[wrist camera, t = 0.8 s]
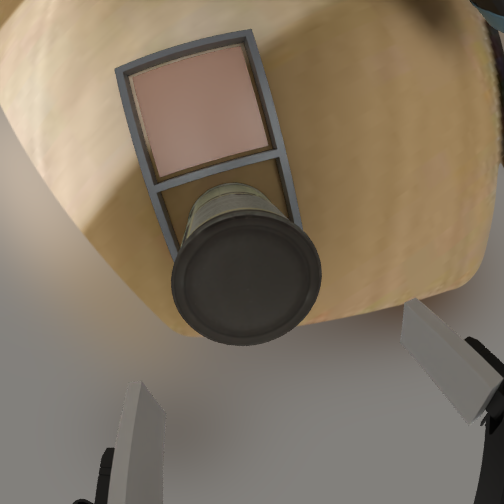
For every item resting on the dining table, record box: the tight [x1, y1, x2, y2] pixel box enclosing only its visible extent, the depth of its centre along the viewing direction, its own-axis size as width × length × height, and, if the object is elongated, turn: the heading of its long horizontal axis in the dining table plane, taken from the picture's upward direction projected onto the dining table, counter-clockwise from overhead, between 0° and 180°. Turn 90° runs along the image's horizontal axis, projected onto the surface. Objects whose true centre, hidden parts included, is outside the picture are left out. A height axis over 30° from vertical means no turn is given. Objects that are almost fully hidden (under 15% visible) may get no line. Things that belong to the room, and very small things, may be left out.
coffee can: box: [171, 183, 322, 346], centre depth 25 cm, size 10×10×14 cm
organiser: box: [115, 29, 303, 262], centre depth 28 cm, size 15×28×2 cm, turn 15°
